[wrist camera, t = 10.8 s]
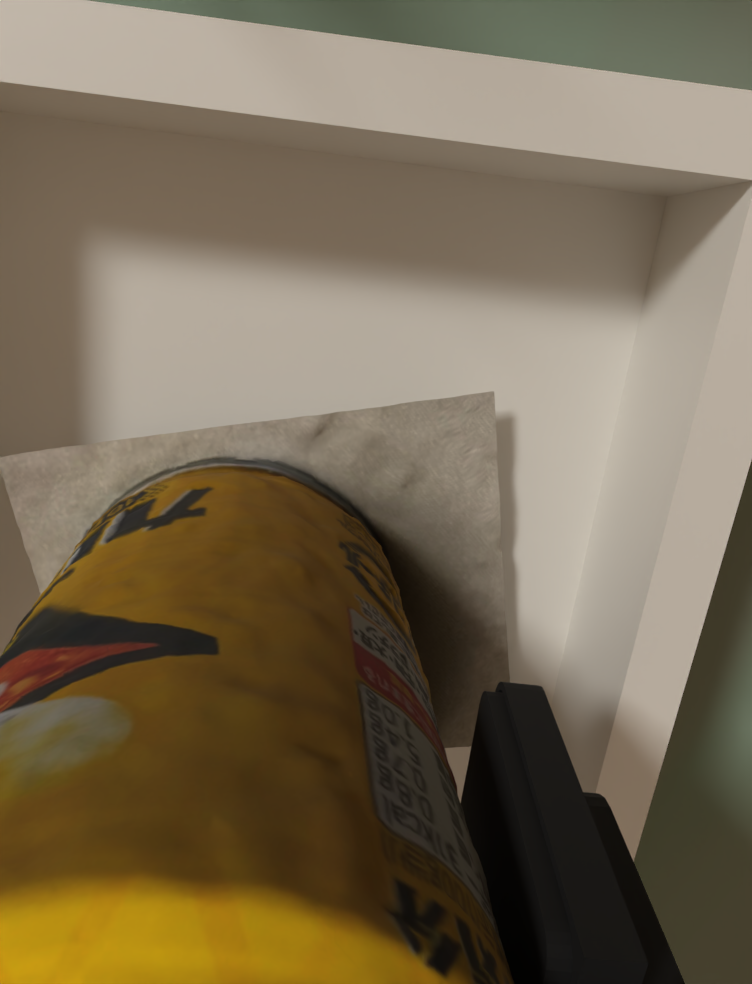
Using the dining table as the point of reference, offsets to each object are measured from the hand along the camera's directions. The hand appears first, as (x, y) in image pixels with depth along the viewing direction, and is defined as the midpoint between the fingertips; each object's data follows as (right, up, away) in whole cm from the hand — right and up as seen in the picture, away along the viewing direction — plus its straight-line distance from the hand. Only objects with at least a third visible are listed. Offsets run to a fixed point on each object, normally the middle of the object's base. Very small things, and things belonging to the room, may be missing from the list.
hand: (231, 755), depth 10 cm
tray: (0, +2, +6) cm, 6 cm away
